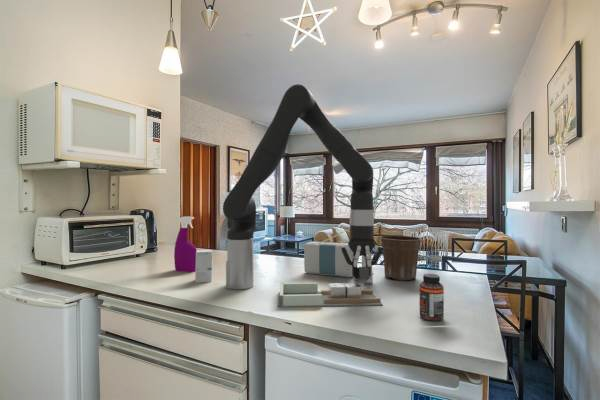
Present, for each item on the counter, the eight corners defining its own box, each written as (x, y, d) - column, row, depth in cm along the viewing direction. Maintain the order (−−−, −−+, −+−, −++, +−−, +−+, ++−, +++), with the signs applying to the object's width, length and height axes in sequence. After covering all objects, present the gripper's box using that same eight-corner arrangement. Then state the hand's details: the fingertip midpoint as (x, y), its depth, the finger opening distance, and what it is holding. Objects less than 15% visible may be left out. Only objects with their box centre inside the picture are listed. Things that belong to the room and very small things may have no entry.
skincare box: (195, 284, 117) (194, 252, 117) (196, 281, 122) (196, 250, 122) (212, 283, 119) (212, 251, 119) (212, 280, 123) (212, 249, 123)
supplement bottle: (415, 313, 86) (415, 272, 86) (436, 313, 87) (436, 272, 87) (426, 322, 80) (425, 278, 80) (448, 321, 81) (448, 277, 81)
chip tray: (279, 306, 92) (279, 295, 92) (280, 292, 106) (280, 283, 106) (322, 305, 92) (322, 295, 92) (317, 291, 106) (317, 282, 106)
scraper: (353, 287, 105) (360, 282, 95) (351, 270, 107) (358, 263, 97) (362, 287, 105) (370, 281, 95) (360, 270, 108) (368, 263, 98)
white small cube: (347, 300, 97) (347, 287, 97) (342, 296, 101) (342, 283, 101) (361, 299, 97) (361, 286, 97) (356, 295, 102) (356, 282, 102)
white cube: (331, 300, 97) (331, 287, 97) (328, 295, 101) (328, 283, 101) (345, 299, 97) (345, 286, 97) (342, 295, 102) (342, 283, 102)
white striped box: (303, 274, 133) (303, 227, 133) (310, 270, 140) (310, 225, 140) (352, 279, 125) (352, 228, 125) (356, 274, 132) (356, 227, 132)
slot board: (277, 307, 92) (277, 302, 92) (278, 293, 106) (278, 289, 106) (382, 305, 93) (382, 300, 93) (370, 291, 107) (370, 287, 107)
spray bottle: (177, 271, 139) (177, 216, 139) (198, 272, 136) (198, 216, 136) (172, 272, 136) (172, 216, 137) (194, 274, 133) (194, 216, 134)
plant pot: (412, 272, 136) (412, 235, 136) (429, 282, 120) (428, 239, 120) (375, 272, 136) (375, 235, 136) (386, 282, 119) (386, 240, 119)
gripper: (341, 224, 96) (341, 281, 96) (387, 224, 97) (387, 280, 97) (337, 223, 103) (337, 275, 103) (379, 222, 104) (379, 275, 104)
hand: (361, 277), depth 100 cm, fingers closed on scraper, 3 cm apart
